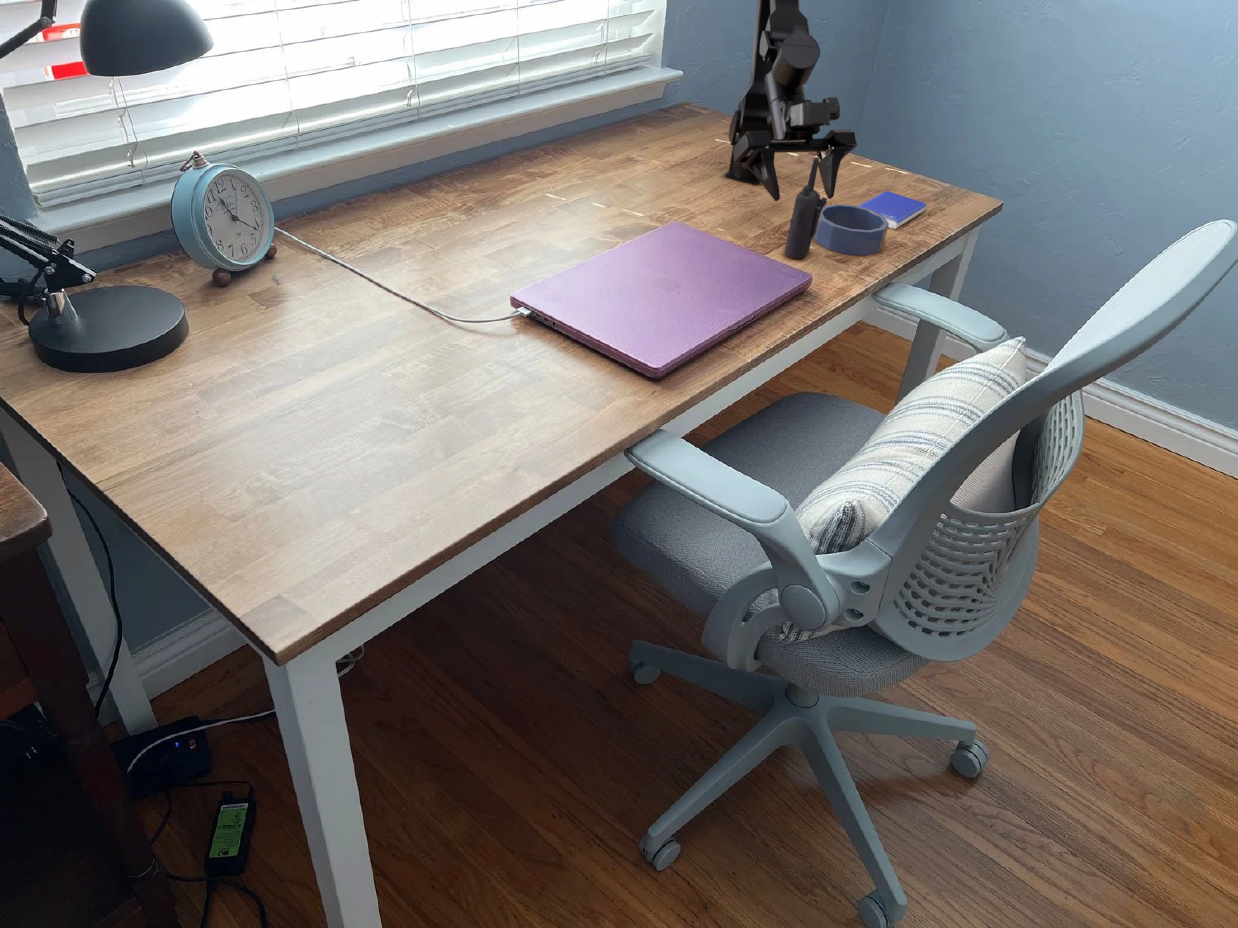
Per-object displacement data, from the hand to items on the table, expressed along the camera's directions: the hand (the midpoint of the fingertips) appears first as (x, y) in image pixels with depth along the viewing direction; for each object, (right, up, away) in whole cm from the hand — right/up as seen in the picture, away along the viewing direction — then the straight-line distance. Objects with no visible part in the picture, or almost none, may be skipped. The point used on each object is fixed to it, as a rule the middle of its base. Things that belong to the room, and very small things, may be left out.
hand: (804, 199), depth 146 cm
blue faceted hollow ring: (+9, -4, +10) cm, 14 cm away
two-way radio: (0, -8, +4) cm, 9 cm away
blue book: (+19, +3, +22) cm, 29 cm away
